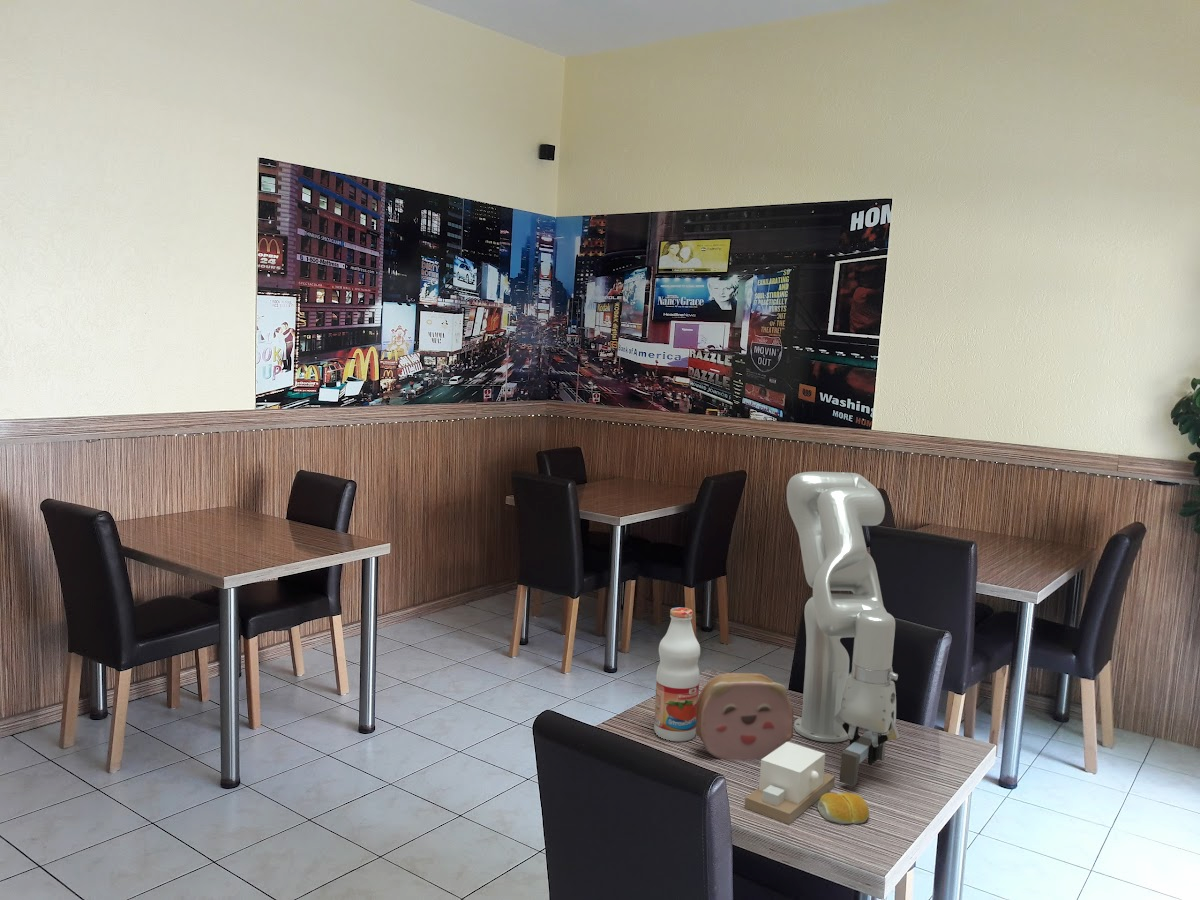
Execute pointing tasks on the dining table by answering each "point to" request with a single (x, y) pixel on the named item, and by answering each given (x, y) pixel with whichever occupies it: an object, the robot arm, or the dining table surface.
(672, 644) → the fruit juice
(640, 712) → the dining table surface
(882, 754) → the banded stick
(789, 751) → the white block on board
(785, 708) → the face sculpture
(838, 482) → the robot arm
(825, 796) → the bread roll
